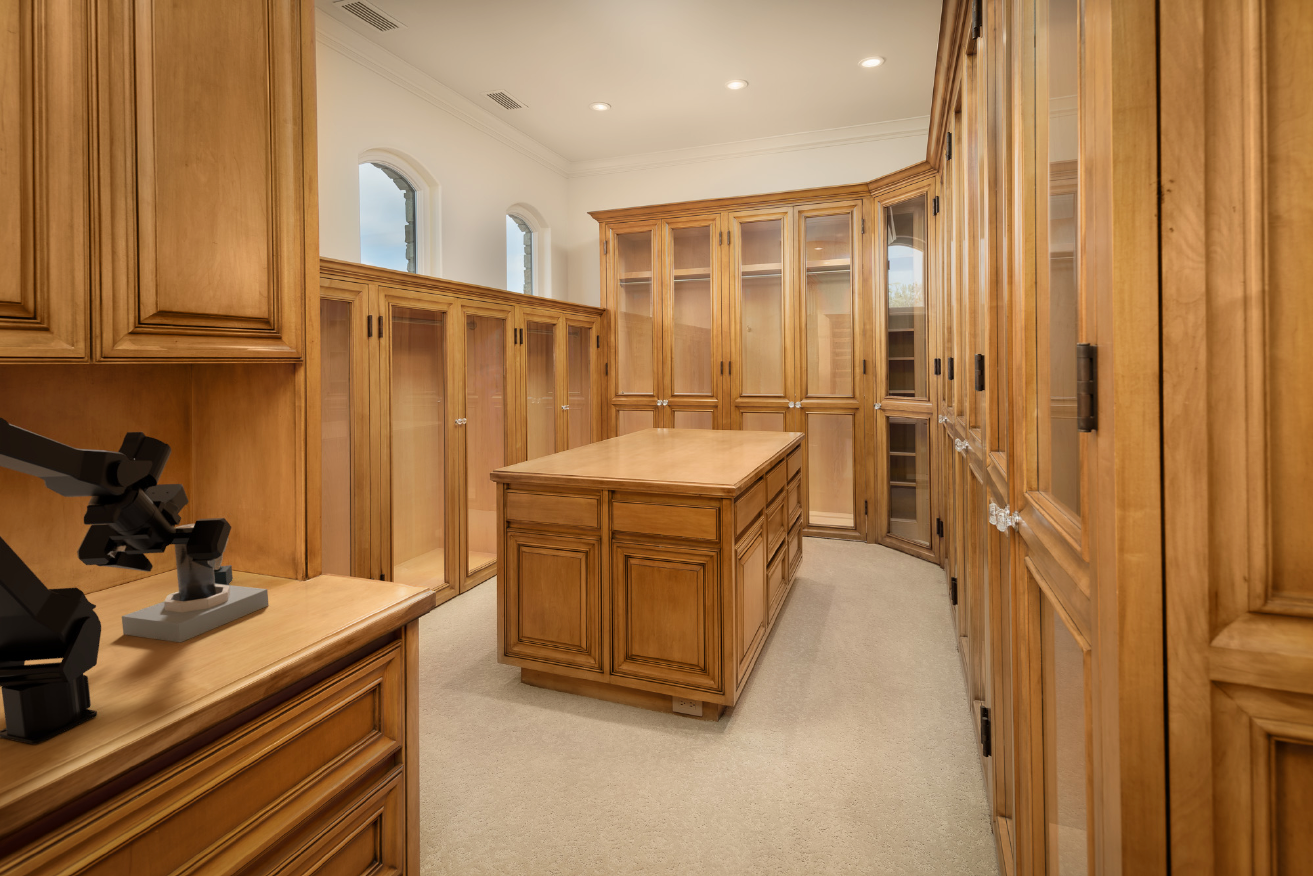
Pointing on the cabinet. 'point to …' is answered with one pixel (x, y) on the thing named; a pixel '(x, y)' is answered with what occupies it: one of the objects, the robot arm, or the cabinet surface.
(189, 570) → the lens
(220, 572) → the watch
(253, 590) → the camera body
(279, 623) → the cabinet surface
